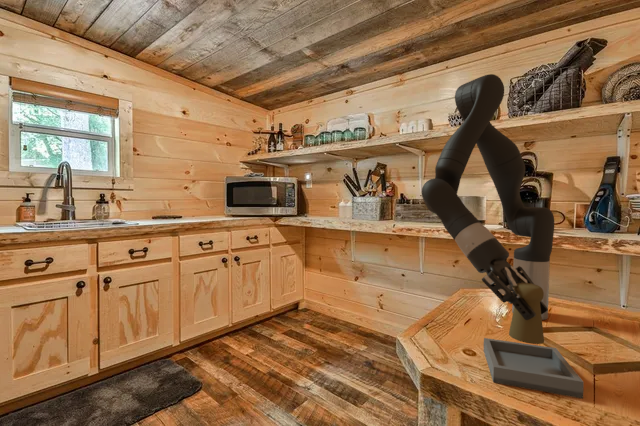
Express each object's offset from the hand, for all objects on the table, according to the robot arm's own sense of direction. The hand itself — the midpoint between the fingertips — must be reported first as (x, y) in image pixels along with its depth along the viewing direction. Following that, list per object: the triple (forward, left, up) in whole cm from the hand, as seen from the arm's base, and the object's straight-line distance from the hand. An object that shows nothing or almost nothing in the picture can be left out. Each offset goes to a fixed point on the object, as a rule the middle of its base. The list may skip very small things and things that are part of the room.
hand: (537, 315), depth 63 cm
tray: (-1, -1, -12) cm, 12 cm away
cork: (-1, -2, -5) cm, 6 cm away
